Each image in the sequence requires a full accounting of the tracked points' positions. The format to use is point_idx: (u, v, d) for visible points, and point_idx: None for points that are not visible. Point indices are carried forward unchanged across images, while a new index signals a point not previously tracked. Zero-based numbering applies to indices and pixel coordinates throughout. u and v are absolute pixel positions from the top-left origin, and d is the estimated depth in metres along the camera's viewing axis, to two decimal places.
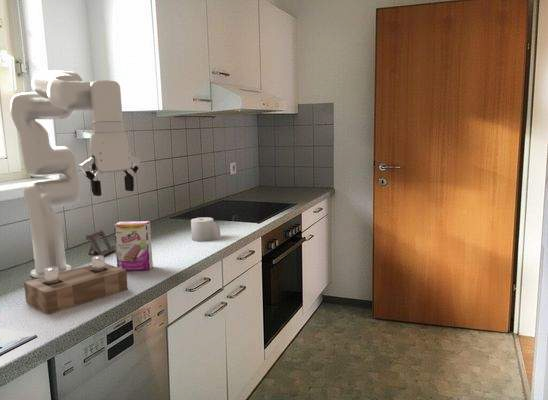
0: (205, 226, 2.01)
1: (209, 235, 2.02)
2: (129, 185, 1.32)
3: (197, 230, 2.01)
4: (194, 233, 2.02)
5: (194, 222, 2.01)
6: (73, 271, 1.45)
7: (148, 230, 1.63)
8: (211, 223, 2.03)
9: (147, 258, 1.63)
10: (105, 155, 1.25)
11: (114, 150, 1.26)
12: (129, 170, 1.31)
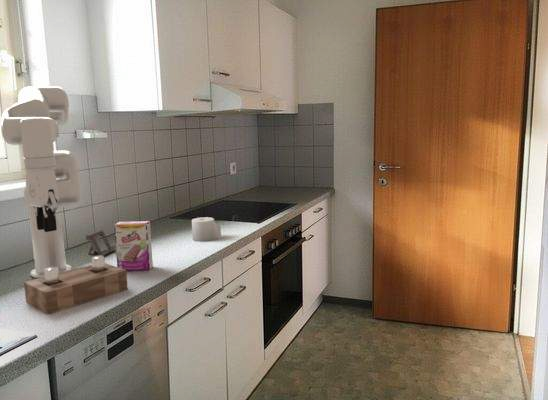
0: (206, 226, 2.01)
1: (210, 235, 2.03)
2: None
3: (198, 230, 2.01)
4: (195, 233, 2.02)
5: (195, 222, 2.01)
6: (73, 271, 1.45)
7: (148, 230, 1.63)
8: (212, 223, 2.03)
9: (147, 258, 1.63)
10: None
11: None
12: None
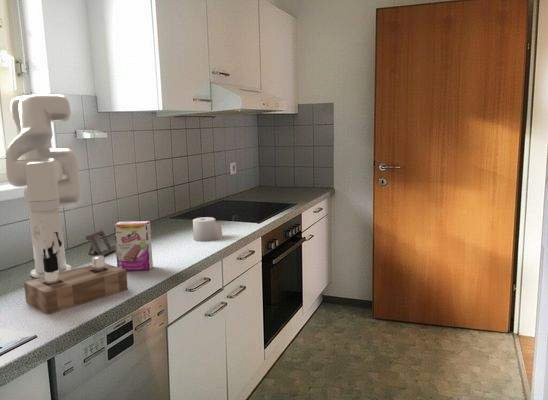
0: (207, 225, 2.01)
1: (211, 235, 2.03)
2: None
3: (199, 230, 2.01)
4: (196, 233, 2.02)
5: (196, 222, 2.01)
6: (73, 271, 1.45)
7: (148, 230, 1.63)
8: (213, 223, 2.03)
9: (147, 258, 1.63)
10: None
11: None
12: None
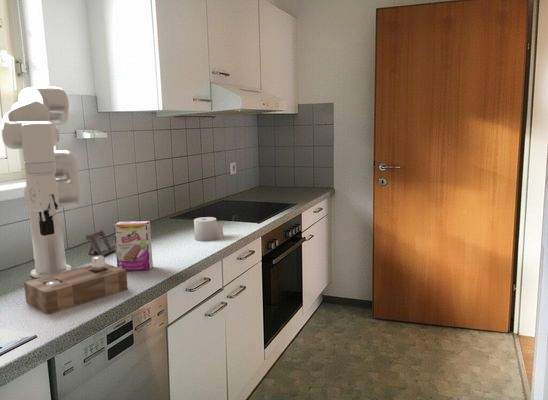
0: (208, 225, 2.01)
1: (212, 235, 2.03)
2: None
3: (200, 230, 2.01)
4: (197, 233, 2.02)
5: (197, 222, 2.01)
6: (73, 271, 1.45)
7: (148, 230, 1.63)
8: (214, 223, 2.03)
9: (147, 258, 1.63)
10: None
11: None
12: None
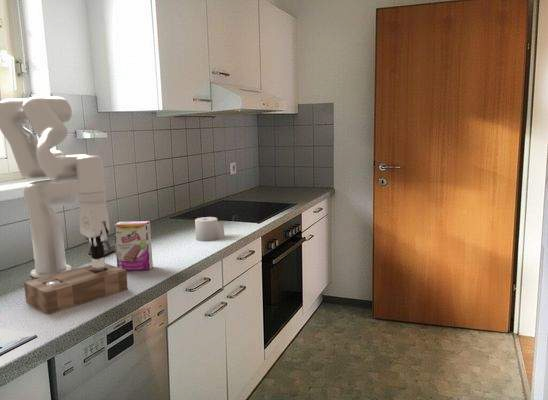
0: (209, 225, 2.01)
1: (213, 235, 2.03)
2: None
3: (202, 230, 2.01)
4: (198, 233, 2.02)
5: (198, 222, 2.02)
6: (73, 271, 1.45)
7: (148, 230, 1.63)
8: (215, 223, 2.03)
9: (147, 258, 1.63)
10: None
11: None
12: None
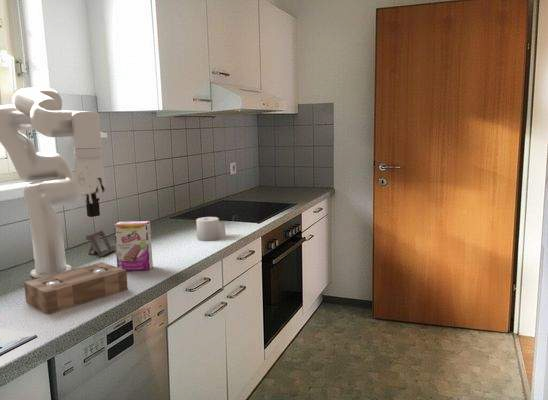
0: (211, 225, 2.01)
1: (214, 234, 2.03)
2: None
3: (203, 230, 2.02)
4: (199, 232, 2.03)
5: (199, 221, 2.02)
6: (73, 271, 1.45)
7: (148, 230, 1.63)
8: (216, 222, 2.03)
9: (147, 258, 1.63)
10: None
11: None
12: None
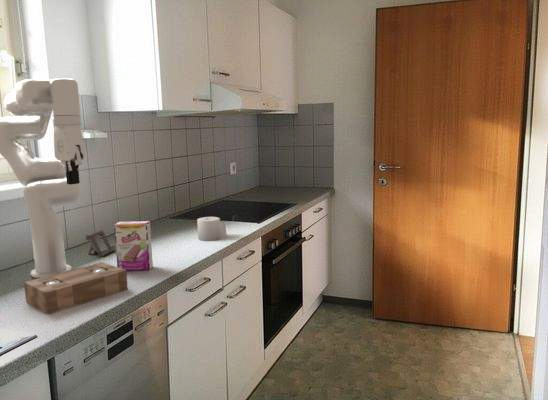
0: (212, 225, 2.01)
1: (215, 234, 2.03)
2: None
3: (204, 230, 2.02)
4: (200, 232, 2.03)
5: (200, 221, 2.02)
6: (73, 271, 1.45)
7: (148, 230, 1.63)
8: (217, 222, 2.03)
9: (147, 258, 1.63)
10: None
11: None
12: None
